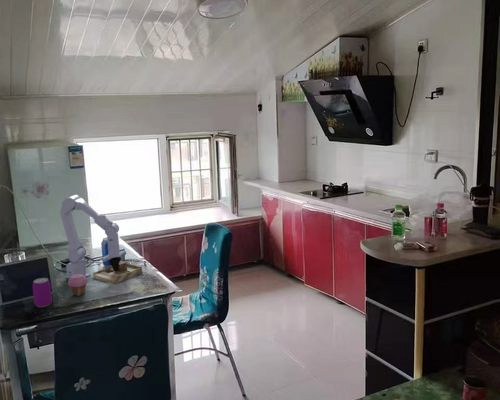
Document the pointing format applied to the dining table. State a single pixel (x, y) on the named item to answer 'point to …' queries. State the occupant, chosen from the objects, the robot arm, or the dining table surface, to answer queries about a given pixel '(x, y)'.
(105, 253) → the beer can
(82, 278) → the cupcake
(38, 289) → the beverage can
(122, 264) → the walnut block
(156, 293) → the dining table surface
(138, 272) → the divided beige tray
